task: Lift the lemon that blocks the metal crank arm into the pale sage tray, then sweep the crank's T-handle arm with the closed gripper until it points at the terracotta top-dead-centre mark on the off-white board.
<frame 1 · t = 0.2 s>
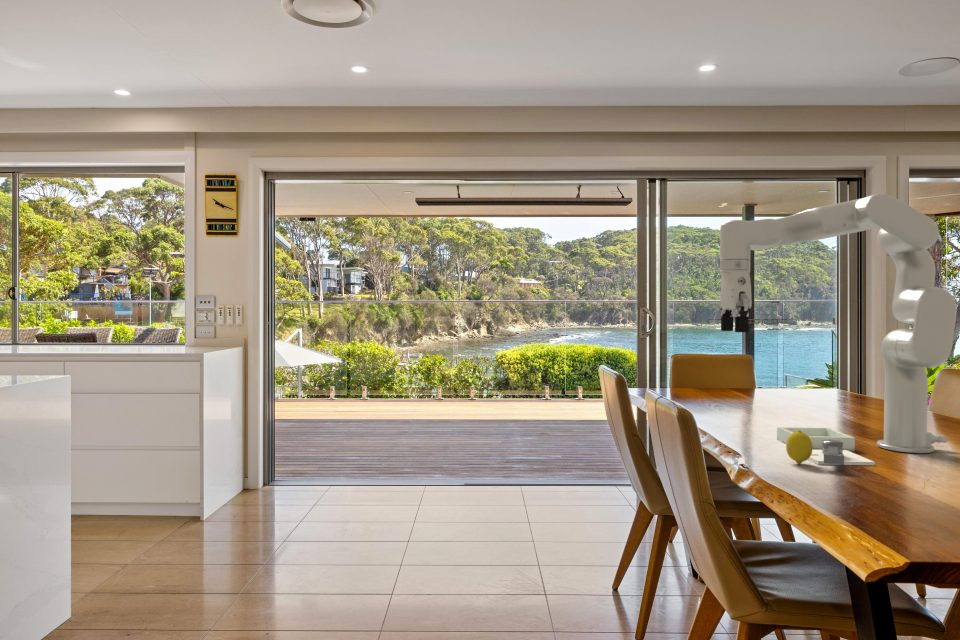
hand: (734, 331, 169), 31 cm above the table, tool pointing down, fingers open, 9 cm apart
crank: (833, 452, 150), point 3 cm above the table, hinge at 65.0°
crank board: (832, 458, 156), on the table
tray: (814, 444, 172), on the table
lemon: (798, 464, 150), on the table
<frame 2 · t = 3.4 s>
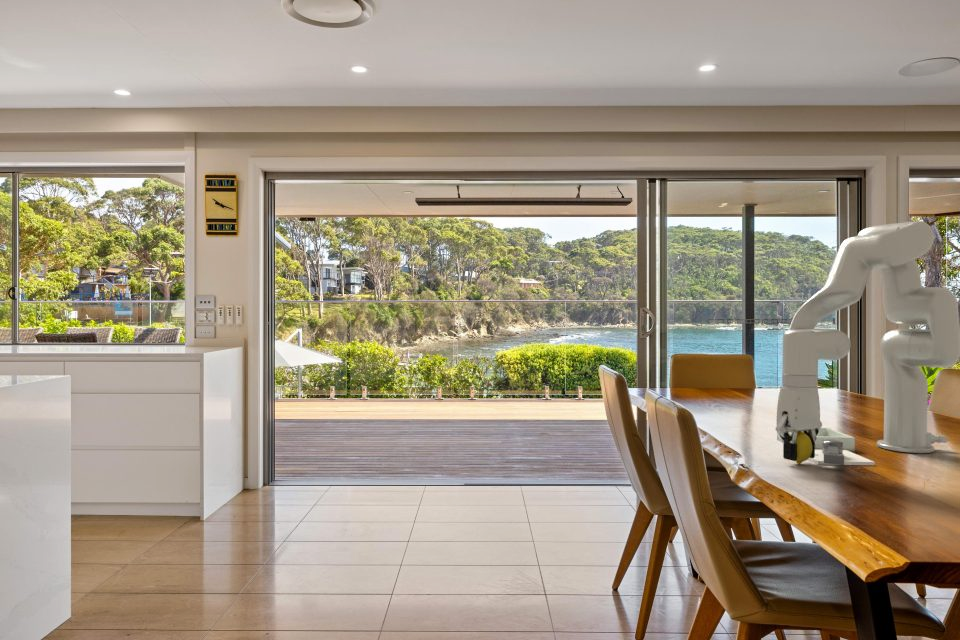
hand: (799, 457, 150), 2 cm above the table, tool pointing down, fingers closed on lemon, 5 cm apart
lemon: (798, 464, 150), on the table, touching gripper
everything else where it was.
when the fingers open (4 cm above the table, at t = 10.3 s): lemon drops 2 cm, resting on tray.
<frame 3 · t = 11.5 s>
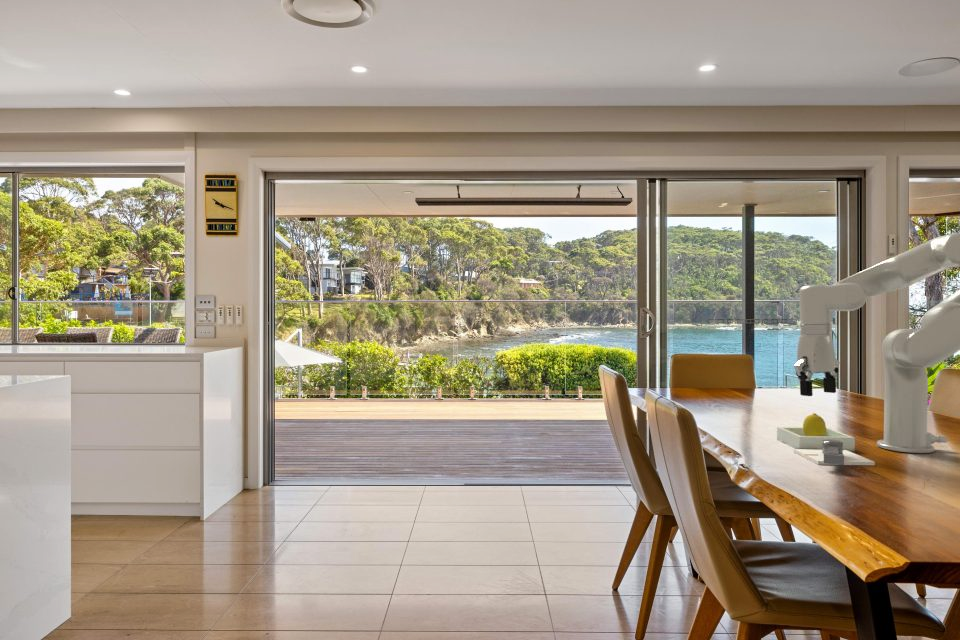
hand: (818, 394, 171), 14 cm above the table, tool pointing down, fingers open, 9 cm apart
lemon: (813, 443, 172), resting on tray
everything else where it was.
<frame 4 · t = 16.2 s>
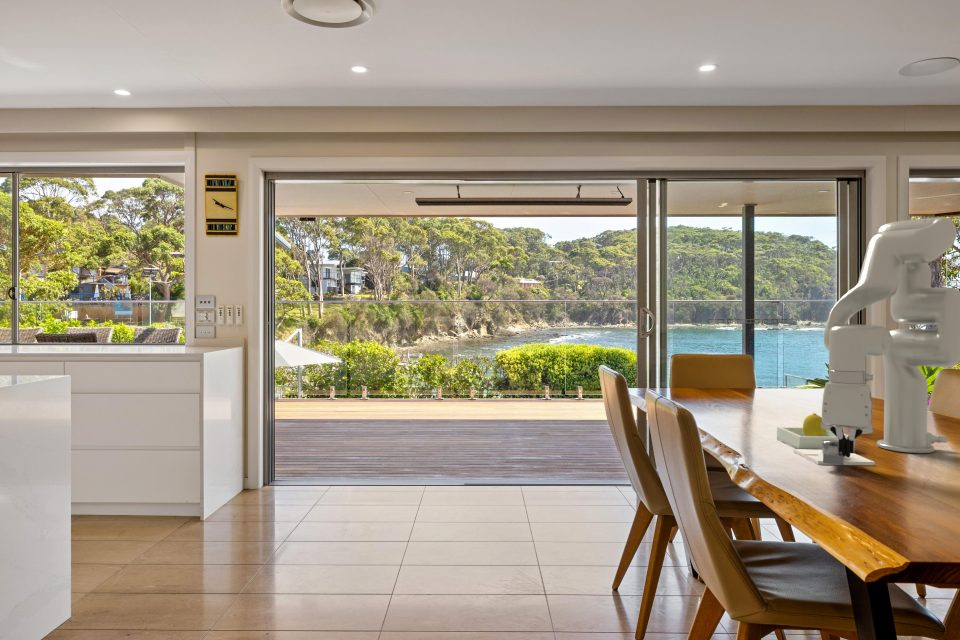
hand: (846, 455, 149), 2 cm above the table, tool pointing down, fingers closed
crank: (832, 452, 150), point 3 cm above the table, hinge at 64.5°, touching gripper
everything else where it was.
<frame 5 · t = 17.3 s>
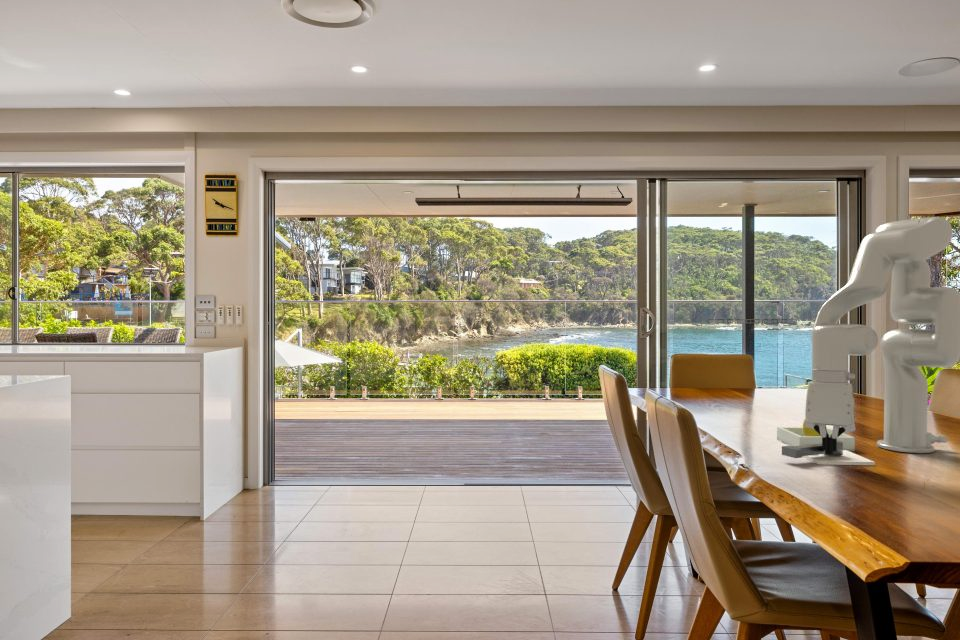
hand: (829, 453, 151), 2 cm above the table, tool pointing down, fingers closed
crank: (814, 449, 153), point 3 cm above the table, hinge at 25.0°, touching gripper
everything else where it was.
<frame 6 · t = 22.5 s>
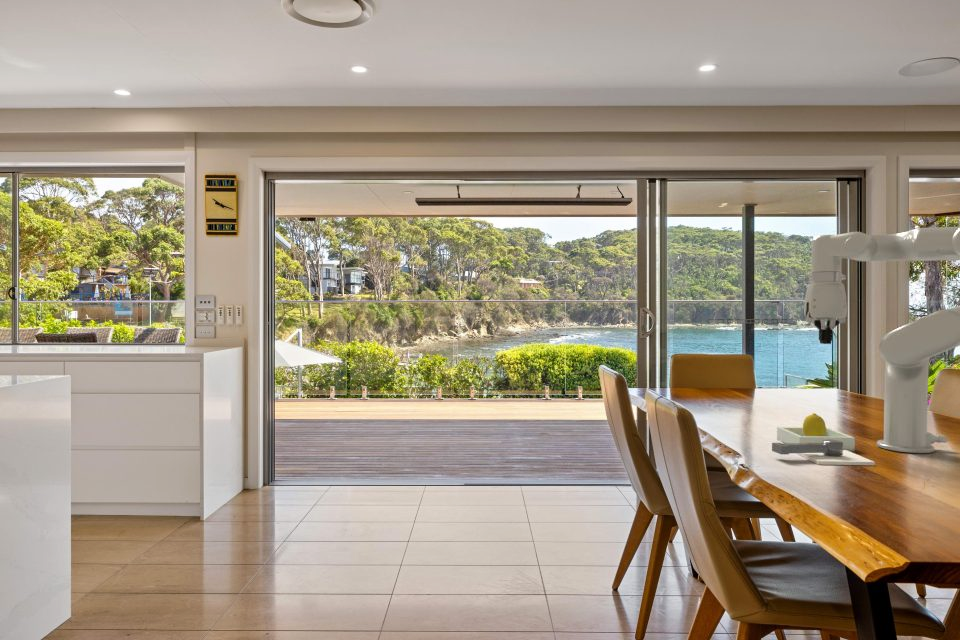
hand: (825, 343, 180), 27 cm above the table, tool pointing down, fingers closed
crank: (808, 447, 155), point 3 cm above the table, hinge at 8.6°
everything else where it was.
at the end: lemon inside the target area on the tray (0.1 cm from its centre), point 0.4 cm above the tray's base; crank at +9° (first picture: +65°); the gripper is holding nothing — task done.
